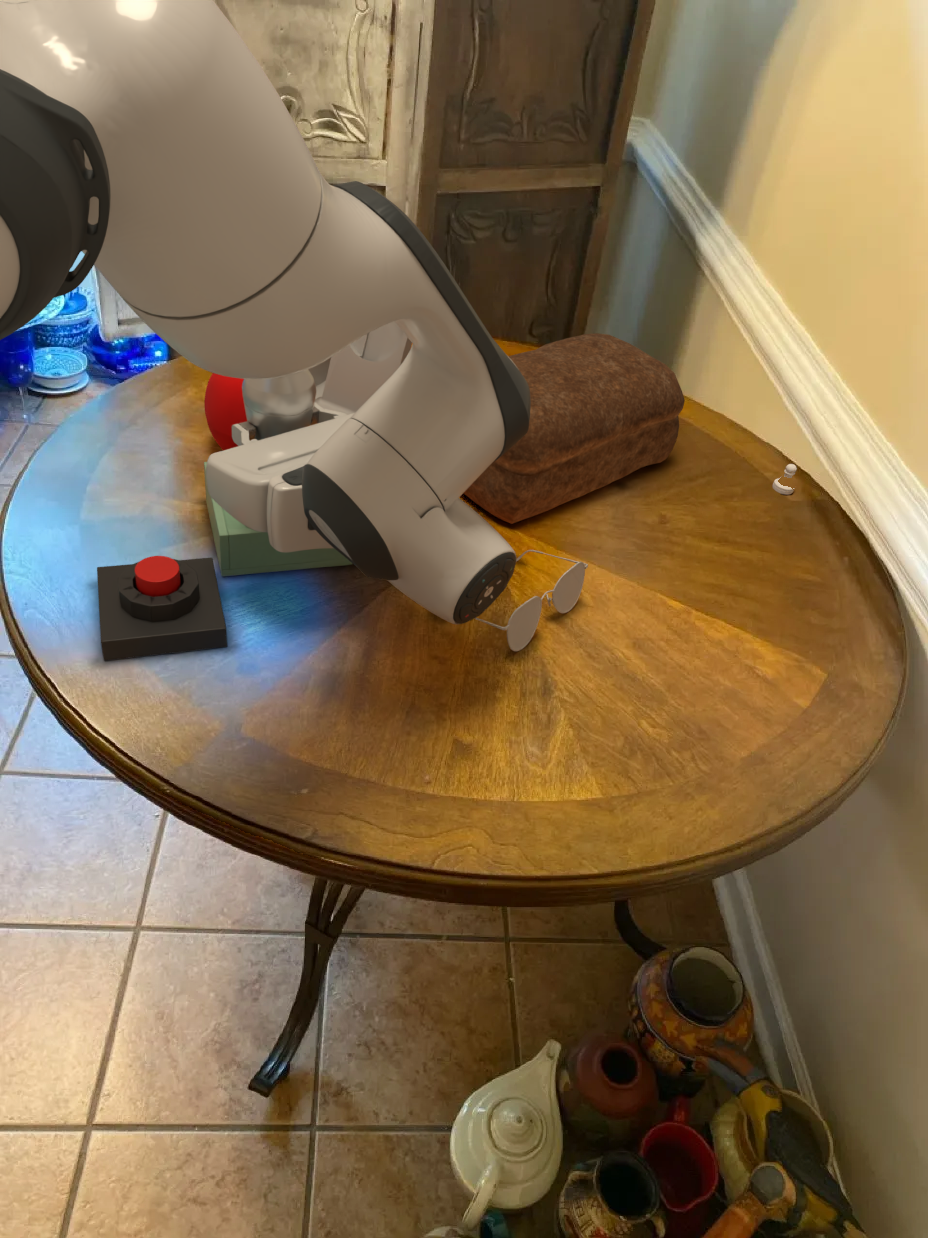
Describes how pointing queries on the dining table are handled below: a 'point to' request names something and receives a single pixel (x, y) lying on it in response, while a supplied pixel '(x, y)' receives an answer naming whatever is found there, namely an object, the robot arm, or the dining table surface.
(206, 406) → the tomato
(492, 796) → the dining table surface
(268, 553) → the tray
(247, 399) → the metal bottle
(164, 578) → the button
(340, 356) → the phone holder
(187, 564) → the block
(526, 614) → the sunglasses
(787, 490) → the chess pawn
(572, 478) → the bread
